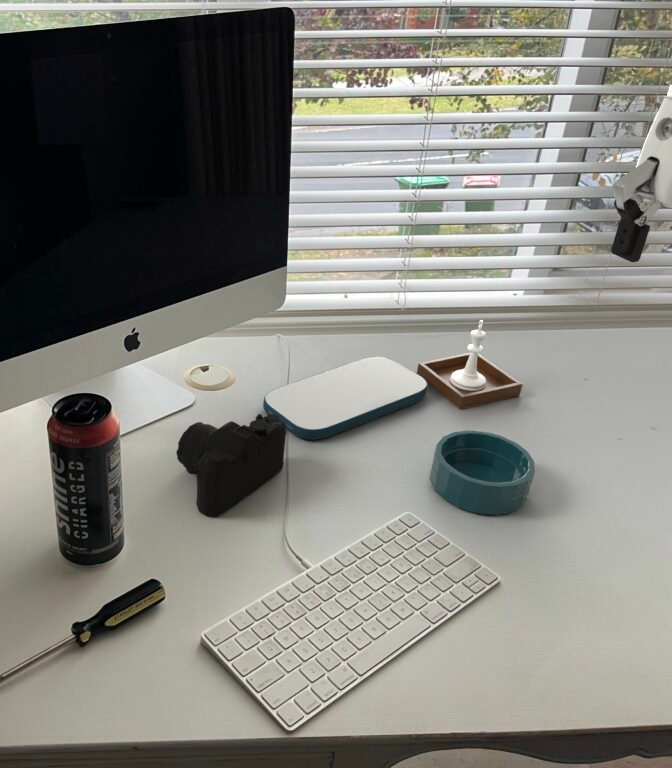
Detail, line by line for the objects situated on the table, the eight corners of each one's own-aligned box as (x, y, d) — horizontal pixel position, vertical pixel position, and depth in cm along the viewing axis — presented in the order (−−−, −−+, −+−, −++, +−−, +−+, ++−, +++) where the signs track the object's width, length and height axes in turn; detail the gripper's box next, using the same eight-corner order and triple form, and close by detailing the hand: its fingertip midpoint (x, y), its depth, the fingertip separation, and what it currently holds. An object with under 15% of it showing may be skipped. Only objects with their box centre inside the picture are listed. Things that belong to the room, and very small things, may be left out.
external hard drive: (378, 363, 122) (379, 351, 121) (436, 397, 113) (438, 385, 112) (253, 407, 111) (254, 395, 110) (306, 448, 103) (308, 436, 102)
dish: (484, 451, 102) (491, 422, 100) (547, 504, 93) (556, 474, 91) (410, 470, 99) (416, 440, 97) (468, 526, 90) (476, 495, 88)
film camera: (234, 437, 105) (236, 379, 101) (293, 468, 99) (298, 408, 95) (152, 489, 96) (151, 427, 92) (212, 526, 90) (214, 463, 86)
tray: (473, 362, 122) (475, 351, 121) (519, 395, 113) (522, 384, 112) (416, 374, 119) (418, 362, 118) (459, 409, 110) (462, 397, 109)
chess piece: (447, 386, 115) (460, 324, 110) (452, 370, 119) (465, 310, 113) (483, 394, 113) (498, 331, 108) (487, 377, 117) (502, 316, 112)
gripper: (681, 97, 71) (625, 276, 79) (820, 83, 75) (752, 252, 84) (614, 82, 77) (568, 249, 86) (746, 70, 82) (690, 229, 90)
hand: (659, 251), depth 85 cm, fingers open, 9 cm apart
